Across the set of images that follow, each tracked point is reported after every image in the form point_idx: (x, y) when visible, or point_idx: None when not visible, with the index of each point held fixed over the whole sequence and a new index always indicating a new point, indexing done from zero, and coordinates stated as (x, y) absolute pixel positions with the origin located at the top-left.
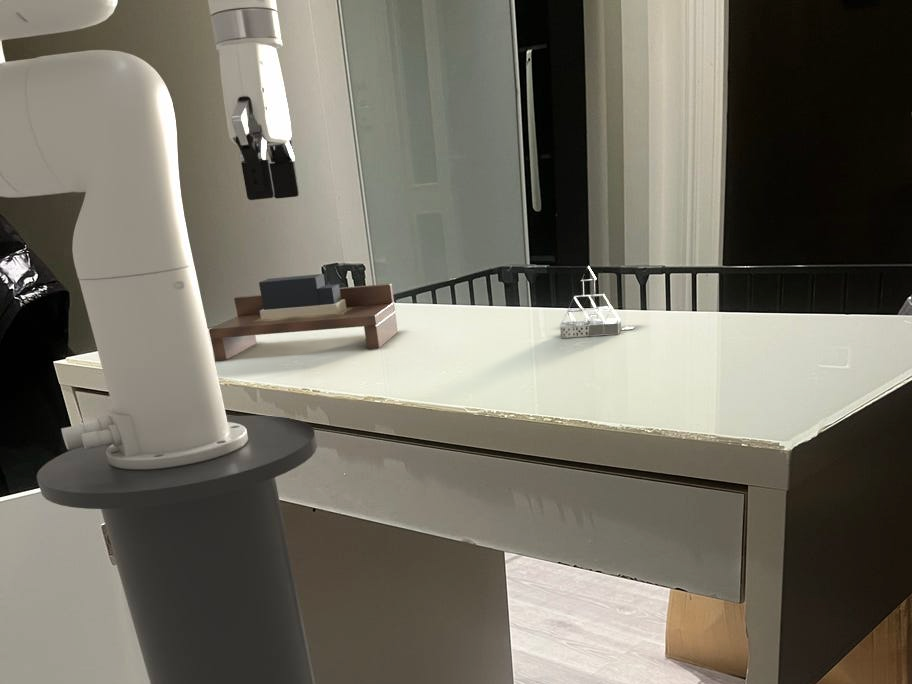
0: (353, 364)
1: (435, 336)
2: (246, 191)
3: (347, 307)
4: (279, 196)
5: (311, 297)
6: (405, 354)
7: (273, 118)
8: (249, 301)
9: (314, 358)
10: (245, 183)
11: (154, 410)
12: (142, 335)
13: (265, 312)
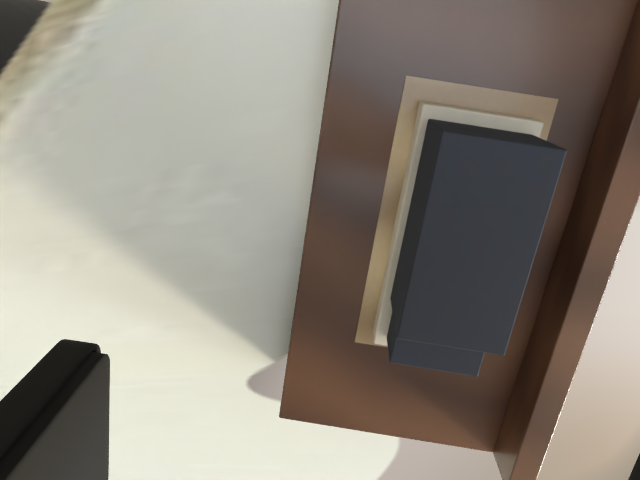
0: (123, 330)
1: (377, 474)
2: (41, 364)
3: (515, 344)
4: (637, 463)
5: (395, 289)
6: (189, 420)
7: None
8: None
9: (240, 240)
10: (3, 403)
11: None
12: None
13: (417, 123)
